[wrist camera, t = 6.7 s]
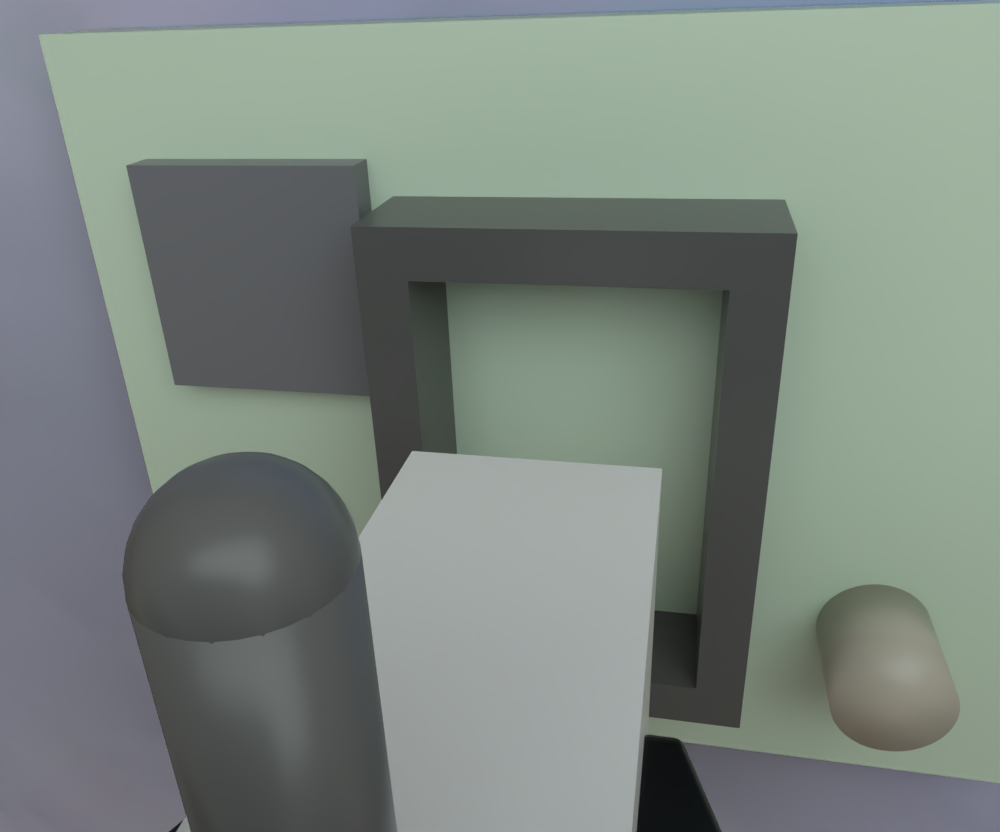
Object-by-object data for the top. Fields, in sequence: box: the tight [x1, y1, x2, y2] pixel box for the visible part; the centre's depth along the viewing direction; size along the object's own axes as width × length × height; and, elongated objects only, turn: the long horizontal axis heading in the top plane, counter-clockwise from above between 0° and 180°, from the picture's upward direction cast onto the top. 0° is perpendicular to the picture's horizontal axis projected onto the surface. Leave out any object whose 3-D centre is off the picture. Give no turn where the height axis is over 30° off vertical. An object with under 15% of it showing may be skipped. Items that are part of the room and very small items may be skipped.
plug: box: [122, 451, 662, 832], centre depth 8 cm, size 9×3×7 cm, turn 3°
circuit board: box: [39, 0, 1000, 783], centre depth 15 cm, size 18×14×4 cm
